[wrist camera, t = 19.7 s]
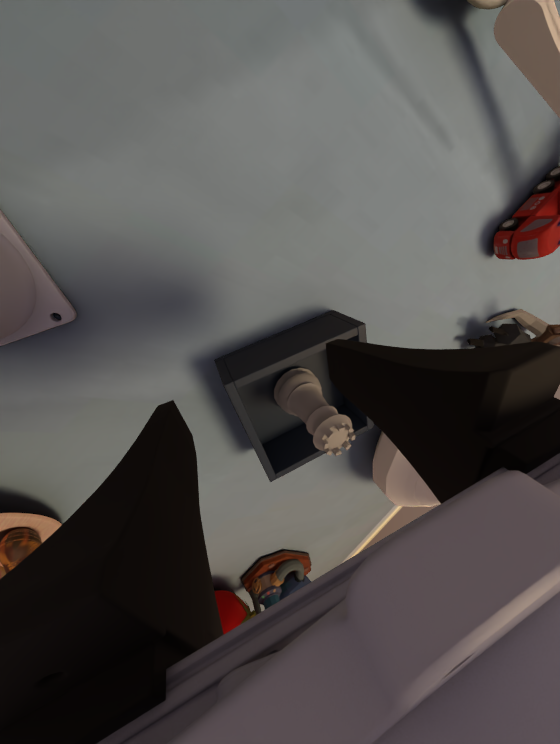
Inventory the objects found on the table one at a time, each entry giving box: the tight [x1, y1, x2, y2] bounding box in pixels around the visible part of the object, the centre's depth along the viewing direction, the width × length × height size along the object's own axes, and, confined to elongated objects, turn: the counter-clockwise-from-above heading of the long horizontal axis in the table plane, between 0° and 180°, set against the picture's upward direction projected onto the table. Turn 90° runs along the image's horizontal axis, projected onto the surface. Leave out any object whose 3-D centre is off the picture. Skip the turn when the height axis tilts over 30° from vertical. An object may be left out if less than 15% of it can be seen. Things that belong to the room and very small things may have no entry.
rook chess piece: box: [274, 368, 356, 456], centre depth 21 cm, size 4×4×8 cm
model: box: [241, 550, 311, 615], centre depth 36 cm, size 12×9×9 cm
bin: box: [215, 310, 373, 482], centre depth 23 cm, size 11×11×4 cm
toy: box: [467, 309, 560, 348], centre depth 31 cm, size 10×8×15 cm
